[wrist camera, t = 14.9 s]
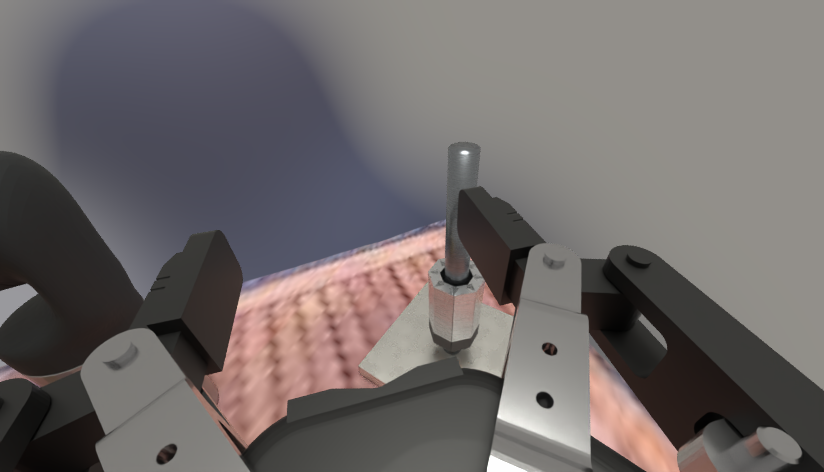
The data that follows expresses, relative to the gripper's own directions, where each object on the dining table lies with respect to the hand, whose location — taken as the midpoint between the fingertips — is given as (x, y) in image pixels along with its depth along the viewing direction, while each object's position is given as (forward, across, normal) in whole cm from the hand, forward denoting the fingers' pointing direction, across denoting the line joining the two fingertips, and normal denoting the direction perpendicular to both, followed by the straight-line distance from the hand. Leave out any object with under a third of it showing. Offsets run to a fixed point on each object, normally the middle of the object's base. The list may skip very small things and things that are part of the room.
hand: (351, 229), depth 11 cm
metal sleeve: (+14, -10, +26) cm, 31 cm away
